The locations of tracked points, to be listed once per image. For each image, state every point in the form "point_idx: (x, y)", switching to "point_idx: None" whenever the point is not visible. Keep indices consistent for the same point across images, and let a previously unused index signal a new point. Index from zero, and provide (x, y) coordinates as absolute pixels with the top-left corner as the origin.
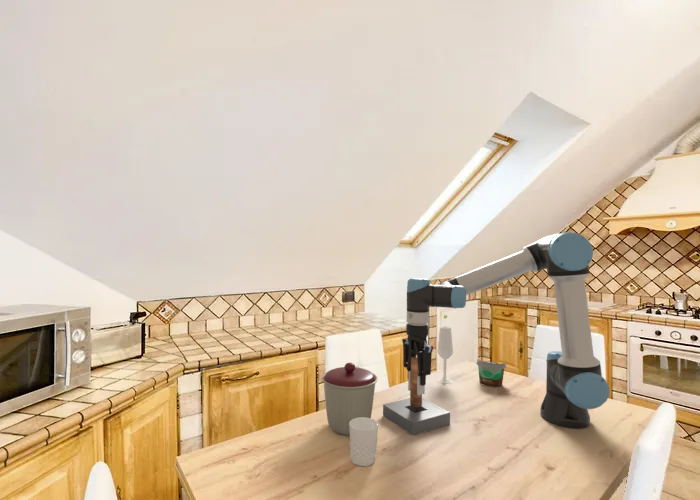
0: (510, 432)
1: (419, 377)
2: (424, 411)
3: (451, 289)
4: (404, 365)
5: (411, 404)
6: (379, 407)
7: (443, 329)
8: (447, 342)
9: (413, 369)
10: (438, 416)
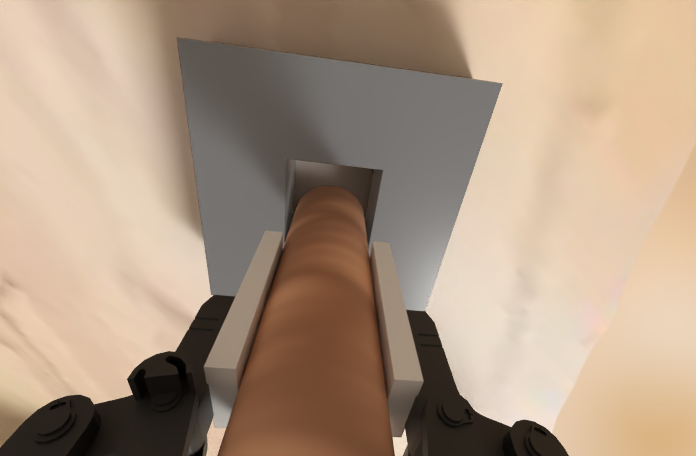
0: (105, 352)
1: (212, 354)
2: (274, 214)
3: None
4: (537, 448)
5: (332, 188)
6: (548, 140)
7: None
8: None
9: (279, 433)
10: (204, 231)
